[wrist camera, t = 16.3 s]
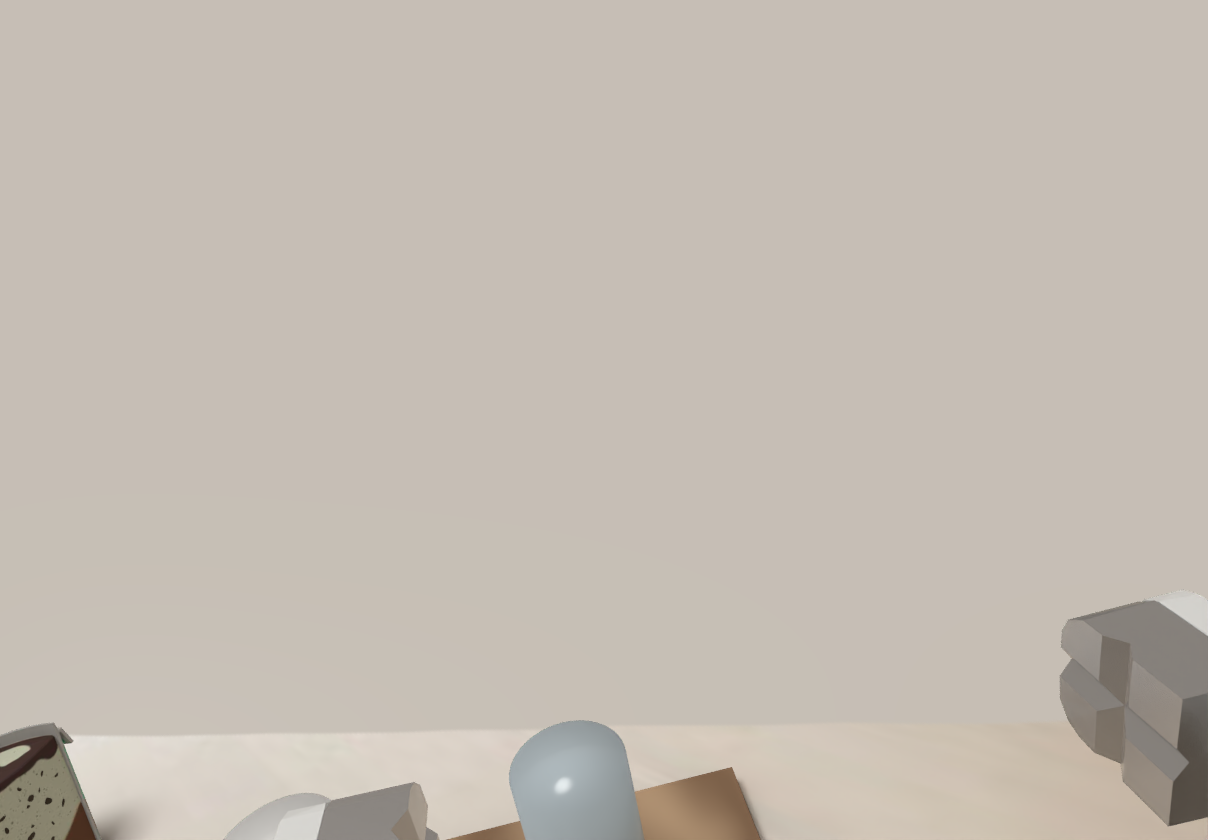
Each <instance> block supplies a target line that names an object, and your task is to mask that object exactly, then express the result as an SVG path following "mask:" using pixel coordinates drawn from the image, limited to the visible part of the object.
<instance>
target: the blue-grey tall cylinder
mask: <svg viewBox="0 0 1208 840" xmlns="http://www.w3.org/2000/svg"><path fill="white" fill-rule="evenodd" d="M509 783H510V787H511V791H512V794H513V798H514V801H515V805H516V808H517V811H518V815H519V818H520V822H521V825H522V829H523V832H524V836H525V839H526V840H645V838H644V834H643V829H642V824H641V820H640V815H639V810H638V806H637V801H636V796H635V792H634V787H633V782H632V778H631V773H630V768H629V764H628V759H627V754H626V750H625V747H624V744H623V742H622V740H621V739H620V737H619V736H618V735H617V734H616V733H615V732H614V731H613V730H611V729H610V728H609V727H607V726H605V725H602V724H599V723H596V722H592V721H568V722H563V723H560V724H556V725H553V726H551V727H548V728H546V729H544V730H542V731H540V732H539V733H537V734H536V735H534V736H533V737H532V738H530V739H529V740H528V741H527V742H526V743H525V744H524V745H523V746H522V747H521V748H520V750H519V751H518V752H517V754H516V756H515V757H514V759H513V762H512V764H511V767H510V772H509Z"/></svg>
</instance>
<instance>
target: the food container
mask: <svg viewBox="0 0 1208 840" xmlns="http://www.w3.org/2000/svg"><path fill="white" fill-rule="evenodd" d="M72 742H73V740H72V739H71V738H70V737H69V735H68V734H67V733H66V732H65V731H64V730H63V729H62V728H57V727H56V726H55V724H54V723H45V724H38V725H33V726H28V727H24V728H20V729H17V730H14V731H11V732H8V733H5V734H2V735H0V840H101V837H100V835H99V832H98V829H97V827H96V824H95V822H94V819H93V817H92V814H91V812H90V809H89V807H88V804H87V802H86V799H85V797H84V794H83V792H82V789H81V787H80V784H79V782H78V779H77V777H76V774H75V772H74V769H73V767H72V764H71V762H70V759H69V757H68V754H67V752H66V749H65V747H64V744H67V743H72Z"/></svg>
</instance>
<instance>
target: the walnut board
mask: <svg viewBox="0 0 1208 840" xmlns="http://www.w3.org/2000/svg"><path fill="white" fill-rule="evenodd" d="M635 796H636V801H637V806H638V810H639V815H640V820H641V824H642V829H643V834H644V838H645V840H760V837H759V835H758V832H757V830H756V827H755V825H754V822H753V819H752V817H751V814H750V812H749V809H748V807H747V804H746V802H745V799H744V797H743V794H742V792H741V789H740V787H739V784H738V781H737V779H736V776H735V774H734V771H733V769H732V767H730V768H726V769H723V770H719V771H715V772H711V773H707V774H703V775H699V776H695V777H691V778H687V779H683V780H679V781H675V782H671V783H667V784H664V785H660V786H656V787H652V788H648V789H644V790H640V791H636V792H635ZM447 840H526V839H525V836H524V832H523V829H522V825H521V822H520V821H518V822H514V823H510V824H506V825H502V826H498V827H494V828H491V829H487V830H483V831H479V832H475V833H471V834H467V835H463V836H459V837H455V838H451V839H447Z"/></svg>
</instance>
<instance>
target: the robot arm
mask: <svg viewBox="0 0 1208 840" xmlns="http://www.w3.org/2000/svg"><path fill="white" fill-rule="evenodd" d="M1061 647H1062V649H1063V650H1064V651H1065V652H1066V653H1067V654H1068V655H1069V656H1070V657H1071V658H1072V659H1071V661H1070V662H1069V664H1068V665H1067V667H1066V668H1065V669H1064V671H1063V672H1062V674H1061V675H1060V699H1061V702H1062V705H1063V708H1064V710H1065V713H1066V716H1067V718H1068V721H1069V722H1070V724H1071V725H1072V727H1073V728H1074V730H1075V731H1076V733H1077V734H1078V736H1079V737H1080V738H1081V739H1082V740H1083V741H1084V742H1085V743H1086V744H1087V745H1088V746H1089V747H1090V748H1091V750H1092V751H1093V752H1094V753H1097V754H1099V755H1101V756H1104V757H1106V758H1108V759H1111V760H1113V761H1116V762H1118V763H1120V764H1121V771H1122V779H1123V782H1124V783H1125V784H1126V785H1127V786H1128V787H1129V788H1130V789H1131V790H1132V791H1133V792H1134V793H1135V794H1136V795H1137V796H1138V797H1139V798H1140V799H1141V800H1142V801H1143V802H1144V803H1145V804H1146V805H1147V806H1148V807H1149V808H1150V809H1151V810H1152V811H1153V812H1154V813H1155V814H1156V815H1157V816H1158V817H1159V818H1160V819H1161V820H1162V821H1163V822H1164V823H1165V824H1166V825H1167V826H1172V825H1177V824H1181V823H1185V822H1189V821H1194V820H1198V819H1202V818H1206V817H1208V600H1207V599H1205V598H1204V597H1202V596H1201V595H1199V594H1197V593H1194V592H1190V591H1186V590H1179V591H1175V592H1171V593H1167V594H1164V595H1160V596H1156V597H1152V598H1149V599H1145V600H1143V601H1142V602H1136V603H1131V604H1128V605H1124V606H1120V607H1116V608H1112V609H1108V610H1104V611H1101V612H1096V613H1092V614H1089V615H1085V616H1081V617H1077V618H1073V619H1070V620H1068V621H1067V623H1066V625H1065V626H1064V628H1063V630H1062V640H1061ZM427 809H428V805H427V802H426V800H425V797H424V795H423V792H422V790H421V787H420V785H419V784H417V783H415V782H413V783H408V784H404V785H399V786H395V787H390V788H386V789H381V790H377V791H372V792H368V793H363V794H359V795H354V796H350V797H345V798H341V799H336V800H332V801H331V802H328V803H323V804H319V805H314V806H309V807H305V808H300V809H296V810H291V811H288V812H287V813H286V814H285V816H284V817H283V818H282V819H281V821H280V823H279V824H278V828H277V831H276V834H275V837H274V840H439V837H438V834H437V833H435V832H433V831H432V830H430V829H429V828H427V827H426V822H427Z"/></svg>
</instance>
